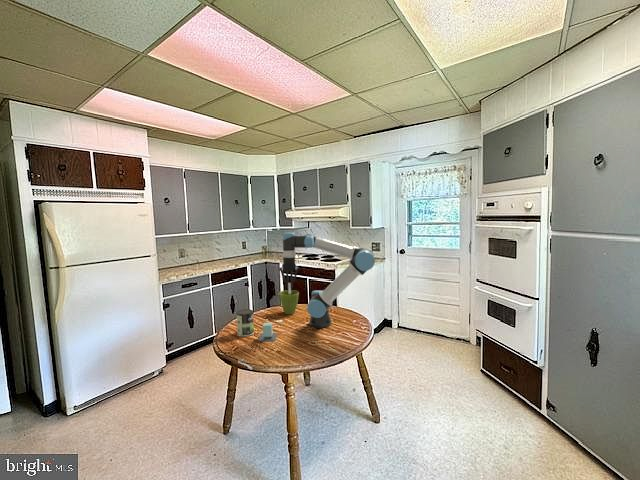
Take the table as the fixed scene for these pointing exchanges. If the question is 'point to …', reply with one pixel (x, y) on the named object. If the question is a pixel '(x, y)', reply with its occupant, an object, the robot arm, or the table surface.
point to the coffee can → (245, 322)
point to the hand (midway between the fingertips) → (289, 293)
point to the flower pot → (289, 301)
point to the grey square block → (271, 338)
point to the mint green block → (267, 329)
